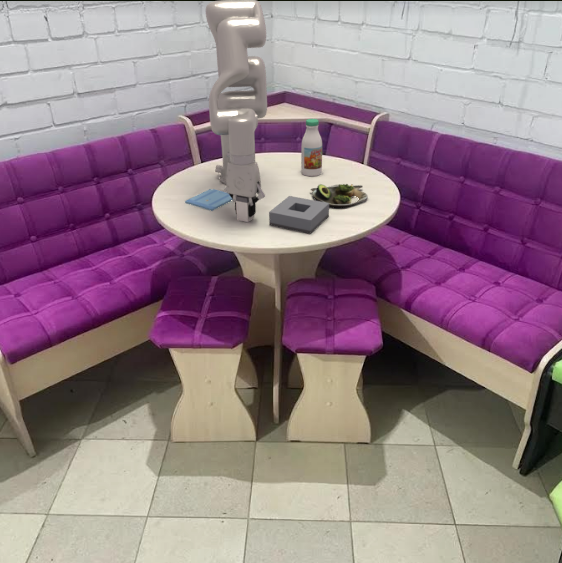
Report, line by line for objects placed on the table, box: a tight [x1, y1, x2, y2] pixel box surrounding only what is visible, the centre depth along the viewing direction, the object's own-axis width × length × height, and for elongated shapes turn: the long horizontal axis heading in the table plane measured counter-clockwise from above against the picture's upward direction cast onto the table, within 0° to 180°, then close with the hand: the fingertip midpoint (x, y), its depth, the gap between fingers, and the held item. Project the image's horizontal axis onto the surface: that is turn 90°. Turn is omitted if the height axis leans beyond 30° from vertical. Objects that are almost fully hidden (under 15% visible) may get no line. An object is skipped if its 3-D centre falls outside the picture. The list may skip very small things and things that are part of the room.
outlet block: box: [268, 195, 330, 235], centre depth 176 cm, size 14×14×4 cm
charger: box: [235, 195, 255, 223], centre depth 177 cm, size 4×4×8 cm
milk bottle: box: [300, 118, 323, 177], centre depth 208 cm, size 8×8×20 cm
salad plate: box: [310, 183, 368, 209], centre depth 192 cm, size 19×18×5 cm
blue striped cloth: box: [184, 188, 233, 212], centre depth 192 cm, size 14×12×1 cm
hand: (245, 213), depth 178 cm, fingers closed on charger, 3 cm apart
